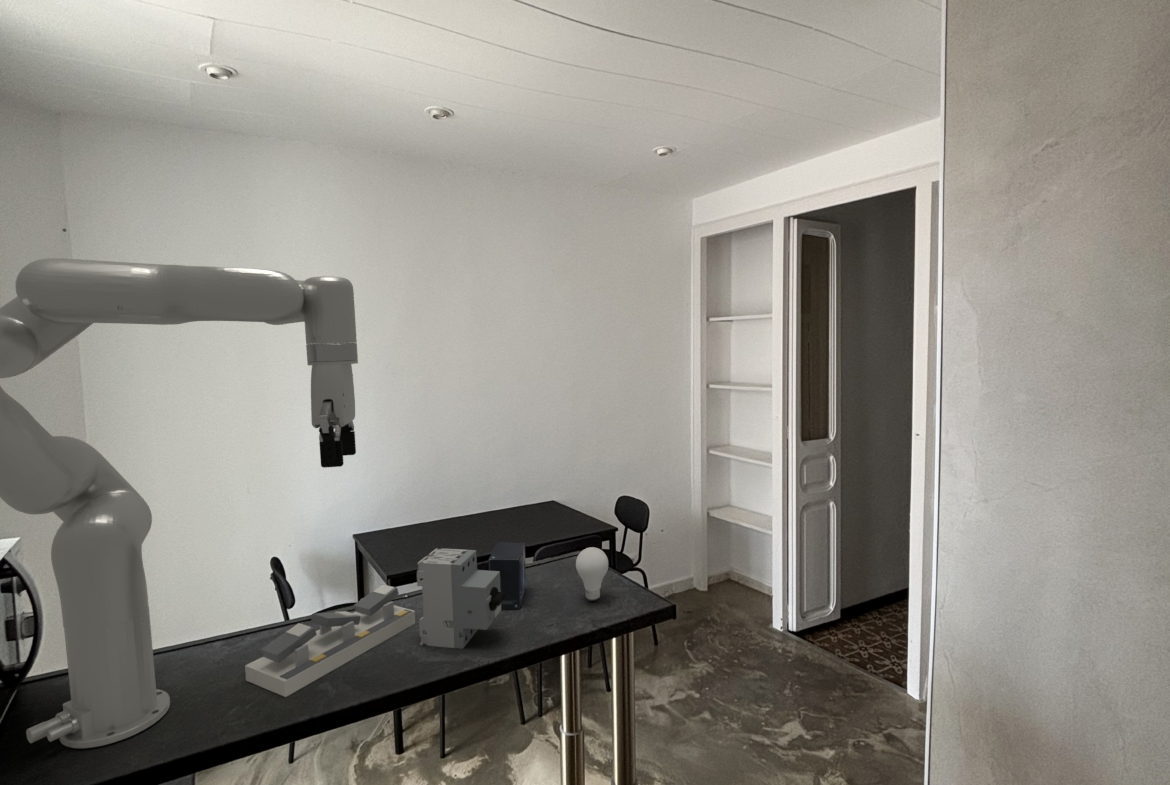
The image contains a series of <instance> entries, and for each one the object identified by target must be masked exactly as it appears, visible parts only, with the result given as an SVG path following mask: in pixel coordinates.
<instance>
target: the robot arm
mask: <svg viewBox="0 0 1170 785" xmlns="http://www.w3.org/2000/svg"><path fill="white" fill-rule="evenodd" d="M15 294H16V297H14V298H13V299H11V300H10V301H8V302H7V303H6V304H4V305H2V306H0V379H8V378H12V377H17V376H19V375H21V374H25V373H26V372H28V371H29V370H32V369H33V368H35V367H36V366H37V365H39V364H41V363H42V362H44V360H46V359H48V358H49V357H50V356H51V355H54V353H56V352H57V351H58V350H60V349H61V348H63V347H64V346H65V345H67V344H68V343H69V342H71V341H72V340H73V339H75V338H77V337H78V336H79V335H80V334H81V333H83V332H84V331H86V330H87V329H88V328H89V327H91V325H93V324H129V325H131V324H132V325H134V324H135V325H160V326H165V325H170V326H171V325H174V326H175V325H182V324H187V323H193V322H242V323H243V322H246V323H247V322H248V323H249V322H250V323H264V324H267V325H273V326H283V325H288V324H294V323H304V333H305V345H306V346H305V348H306V360H307V363H306V364H307V366H311V370H310V373H311V374H310V410H311V417H310V419H311V425H312V427H313V428H314V429H318V432H319V435H318V440H319V454H320V467H322V468H323V469H324V468H325V469H326V468H338V467H339V468H340V467H343V466H344V456H354V455H356V453H357V446H356V433H355V425H354V420H355V419H356V399H355V386H354V383H355V382H354V374H353V367H352V366H353V364H354V365H355V364H359V358H358V343H357V326H356V322H357V321H356V310H355V307H356V306H355V296H354V294H355V293H354V286H353V284H352V282H351V281H350V280H349V279H347V278H345V277H340V276H325V275H324V276H312V277H309V278H306V279H305V280H302V279H301V280H300V279H299V280H298V279H295V278H294V277H292V276H291V275H289V274H288V273H286V272H283V271H278V270H272V269H261V268H260V269H259V268H258V269H257V268H246V267H231V266H230V267H229V266H227V267H226V266H203V265H202V266H199V265H182V264H162V263H142V262H126V261H125V262H123V261H111V260H110V261H109V260H93V259H81V258H79V259H78V258H62V257H61V258H60V257H59V258H56V257H54V258H51V257H49V258H43V259H41V258H40V259H37V260H34V261H31V262H30V263H28V264H27V265H25V266H23V267H22V268H21V269H20V271H19V272H18V275H17V277H16V280H15ZM0 498H1V500H2V501H3V502H4V503H5V504H6V505H7V506H9V507H11V508H12V509H14V511H16V512H17V511H18V512H20V513H24V514H27V515H46V514H50V513H54V514H55V515H56V516H57V517H58V518H59V519H60V520H61V521H62V523H61V525H60V526H59V528H58V529H57V530H56V532H55V535H54V537H53V539H52V542H51V548H50V549H51V550H50V558H51V566H52V571H53V573H54V574H53V575H54V577H55V581H56V586H57V590H58V595H59V601H60V608H61V616H62V618H61V619H62V626H63V631H64V642H65V651H66V652H65V653H66V662H67V670H68V682H69V692H70V700H68V701H66V702H64V703H62V709H63V711H61V712H57V713H56V714H55V717H53V718H50V719H49V720H46V721H42V722H40V723H38V724H35V725H33V726H30V727H29V728H27V729H26V731H25V733H26V739H27V741H28V742H29V743H30V744H33V743H35V742H37V741H39V740H41V739H43V738H47V740H48V741H49V742H53V741H55V740H58V739H59V741H60V743H61V744H62V745H63V746H65V747H68V748H72V749H89V748H90V749H92V748H98V747H103V746H106V745H110V744H114V743H117V742H120V741H122V740H126V739H128V738H130V737H133V736H135V735H137V734H139V733H141V732H143V731H145V730H146V729H148V728H150V727H151V726H153V725H154V724H156V723H157V722H158V721H160V720H161V718H163V717H164V716H165V715H166V714H167V712H168V711H169V709H170V707H171V706H170V705H171V698H170V694H169V693H168V692H167V691H165V690H162V689H159V688H157V684H156V676H155V675H156V674H155V673H156V672H155V659H154V651H153V650H154V649H153V636H152V627H151V617H150V616H151V615H150V606H149V595H148V588H147V586H148V585H147V579H146V578H147V577H146V573H145V568H144V567H145V566H144V563H143V553H142V552H143V550H142V549H143V548H142V547H143V543H144V541H145V539H146V537H147V536H148V534H149V532H150V530H151V528H152V522H153V516H152V512H151V508H150V506H149V505H148V503H147V501H146V500H145V499H144V497H142V495H141V494H140V493H139V492H138V491H137V490H136V489H135V488H134V487H133V486H132V485H131V484H130V482H129V481H127V480H126V478H124V476H122V474H121V473H120V472H119V471H118V470H117V469H116V468H115V467H114V466H113V464H111V463H110V462H109V461H108V460H107V459H106V458H105V457H104V455H103V454H102V453H100V451H98V450H97V449H96V448H94V446H92V445H90V444H89V443H87V442H85V441H83V440H81V439H78V438H75V437H73V436H72V437H71V436H67V435H66V436H65V435H59V436H58V435H57V436H56V435H54V436H53V435H52V434H51V433H50V432H48V430H46V428H45V427H43V426H42V424H40V423H39V422H38V421H37V420H36V418H34V417H33V415H32V414H31V413H30V412H29V410H28V409H26V408H25V407H24V406H23V405H22V404H21V403H20V402H19V401H17V400H16V399H15V398H13V397H12V396H10V395H9V394H8V393H7V392H6V391H5V390H4V389H3V387H2V386H1V385H0Z"/></svg>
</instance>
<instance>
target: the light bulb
mask: <svg viewBox="0 0 1170 785" xmlns="http://www.w3.org/2000/svg"><path fill="white" fill-rule="evenodd" d="M575 568H576V572H577V573H578V575H579V576H580V578H581V580H582V582H583V586H584V589H585V598H586V599H587V600H589V601H591V602H594V601H597V600H598V599H600V597H601V588H602V582H603V580H604V578H605V575H606V574H607V572H608V569H609V559H608V556H607V555H606V553H605V552H604V551H603V550H602V549H600V548H598V547H594V546H592V547H591V546H590V547H586V548H585V549H582V550H581V551H579V553H578V555H577V557H576V560H575Z"/></svg>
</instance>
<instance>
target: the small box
mask: <svg viewBox="0 0 1170 785" xmlns="http://www.w3.org/2000/svg"><path fill="white" fill-rule="evenodd" d="M525 545H526V544H525V542H500V541H499V542H496V544H495V546H494V548H493V550H492V551H491V554H490V556H489V558H488V571H500V589H501V592H505V597H506V598H505V599H504V601H502V603H501V610H520V609H521V605H522V603H523V599H524V595H525V593H526V586H527V585H526V584H527V582H526V579H527V578H526V575H527V574H526V547H525Z"/></svg>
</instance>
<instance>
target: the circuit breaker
mask: <svg viewBox="0 0 1170 785" xmlns="http://www.w3.org/2000/svg"><path fill="white" fill-rule="evenodd" d="M477 557H478V556H477V550H476V549H463V548H462V549H460V548H459V549H458V548H438V547H436V548H435V549H434V550H432V551H431V552H430V553H428V555H426V556H424V557H423V558H422V559H420V560H419V561H418V562H417V563H416V564H417V570H416V583H417V584H416V585H417V587H421V590H422V611H423V616H421V618H419V619H418V625H419V626H418V629H419V630H418V631H419V638H420V642H419V645H420V646H423V645H426V646H427V647H438V648H451V649H462V650H463V649H464V648H465V647H466V646H467V644H468V643H469V642H470V641H471V639H473V637H474V636H475V635H476V633H477V632H478V630H484V631H486V630H488V629H489V627H490V626H491V624H492V623H493V622H494V620H495V619H496V618H497V617H498V615H499V614H500V613H501V611H502V609H501V603H502V601H504V599H505V598H506V597H505V592H501V589H500V571H489V570H487V569H486V570H484V569H478V562H477V561H478V559H477Z"/></svg>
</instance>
